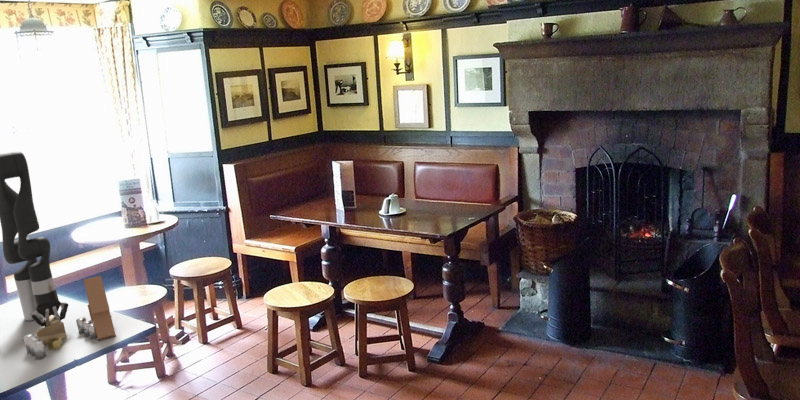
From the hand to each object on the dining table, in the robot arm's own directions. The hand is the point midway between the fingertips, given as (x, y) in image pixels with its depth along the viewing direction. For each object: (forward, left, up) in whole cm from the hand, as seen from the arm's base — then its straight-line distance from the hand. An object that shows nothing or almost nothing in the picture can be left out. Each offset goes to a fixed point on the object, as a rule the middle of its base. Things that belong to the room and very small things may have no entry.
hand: (54, 332), depth 247 cm
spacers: (+13, -2, -1) cm, 13 cm away
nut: (+13, -5, -1) cm, 14 cm away
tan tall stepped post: (+10, +14, -1) cm, 18 cm away
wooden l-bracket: (+1, -3, -1) cm, 3 cm away
